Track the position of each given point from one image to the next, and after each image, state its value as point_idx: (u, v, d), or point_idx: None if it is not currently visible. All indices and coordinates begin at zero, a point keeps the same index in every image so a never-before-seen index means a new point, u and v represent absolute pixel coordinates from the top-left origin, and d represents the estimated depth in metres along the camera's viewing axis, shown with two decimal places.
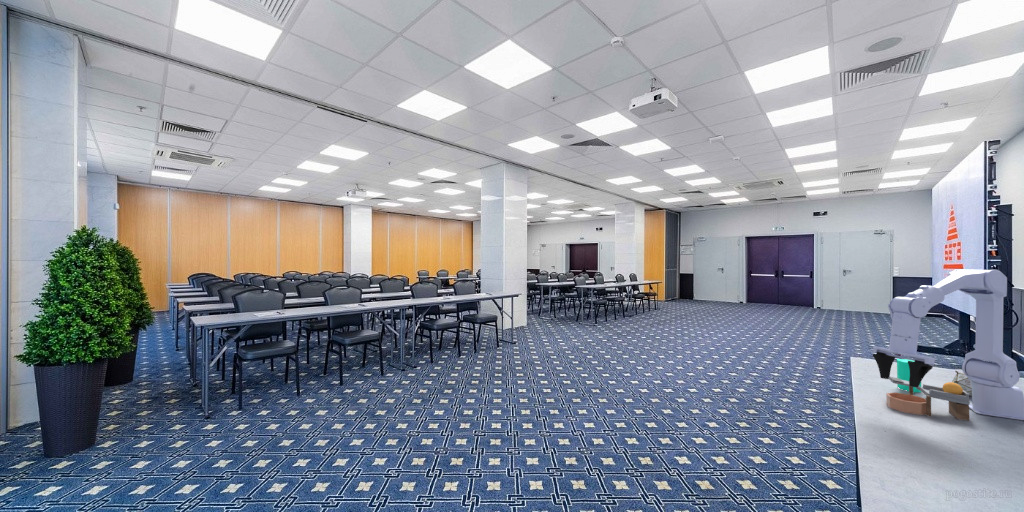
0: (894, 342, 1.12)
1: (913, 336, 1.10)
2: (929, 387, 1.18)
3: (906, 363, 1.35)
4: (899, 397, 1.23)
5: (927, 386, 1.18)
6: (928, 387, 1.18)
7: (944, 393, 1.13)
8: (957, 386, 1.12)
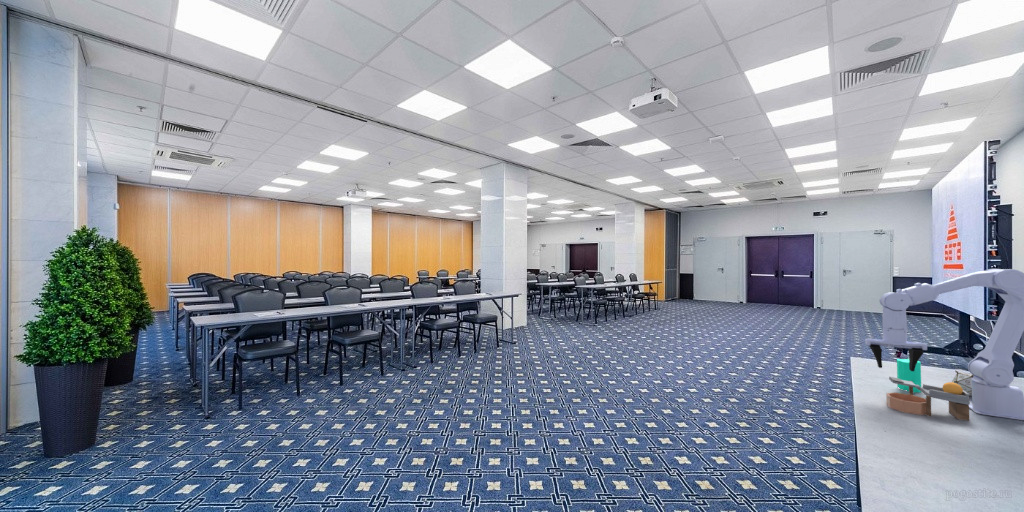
0: (896, 335, 1.25)
1: (894, 327, 1.25)
2: (929, 387, 1.18)
3: (906, 363, 1.35)
4: (899, 397, 1.23)
5: (927, 386, 1.18)
6: (928, 387, 1.18)
7: (944, 393, 1.13)
8: (957, 386, 1.12)
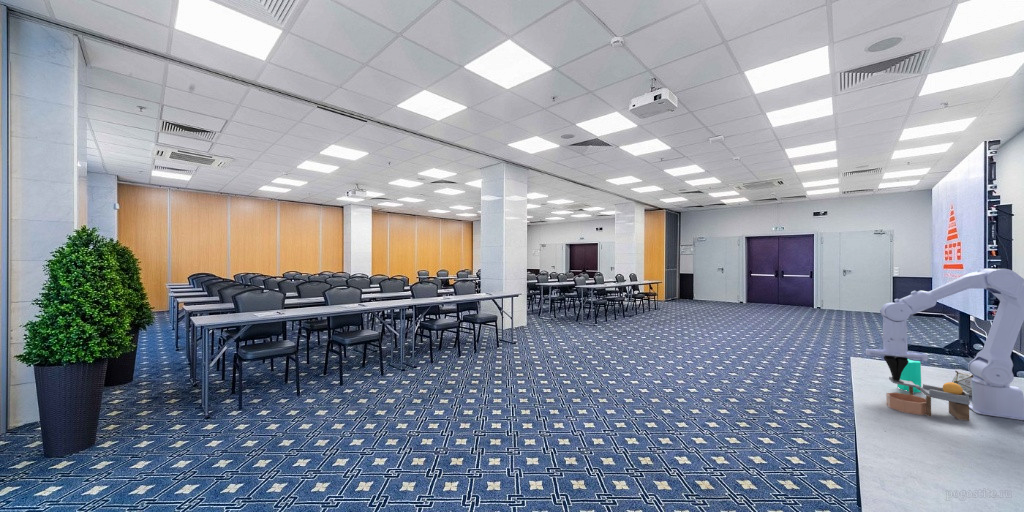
0: (897, 346, 1.25)
1: (895, 338, 1.25)
2: (929, 387, 1.18)
3: None
4: (899, 397, 1.23)
5: (927, 386, 1.18)
6: (928, 387, 1.18)
7: (944, 393, 1.13)
8: (957, 386, 1.12)
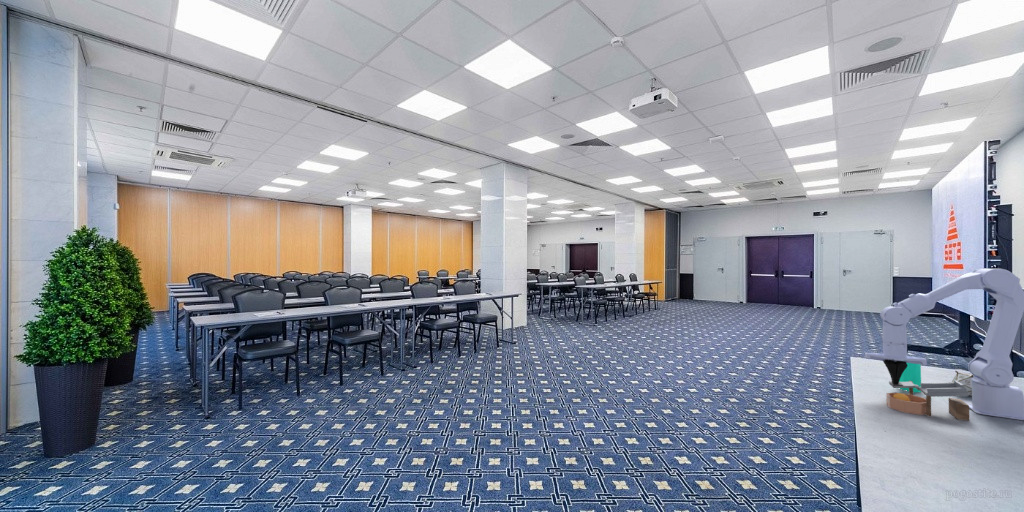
0: (896, 350, 1.25)
1: (894, 342, 1.25)
2: (927, 385, 1.19)
3: (906, 363, 1.35)
4: None
5: (924, 384, 1.19)
6: (926, 385, 1.19)
7: (941, 389, 1.13)
8: (907, 399, 1.18)
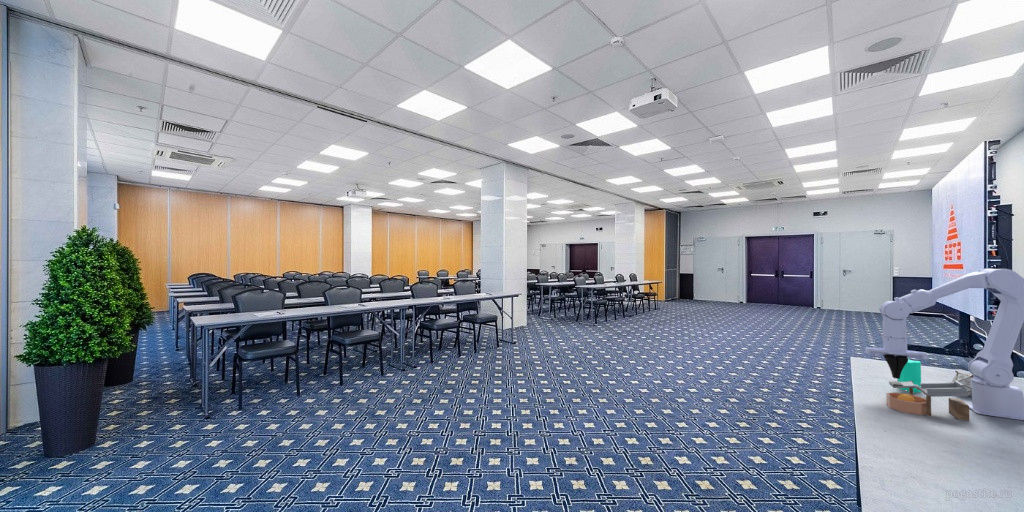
0: (896, 344, 1.25)
1: (894, 336, 1.25)
2: (927, 385, 1.19)
3: (906, 363, 1.35)
4: None
5: (924, 384, 1.19)
6: (926, 385, 1.19)
7: (941, 389, 1.13)
8: None
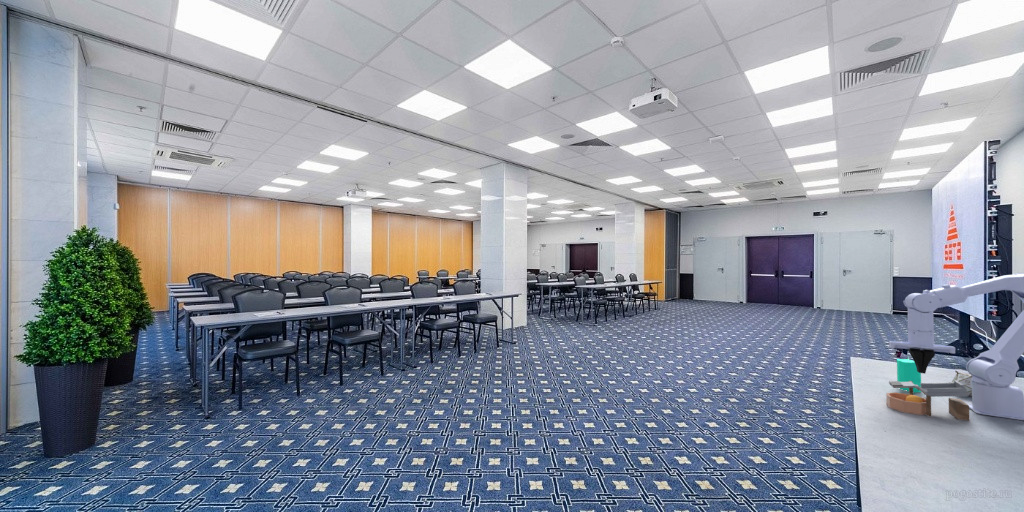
0: (923, 338, 1.20)
1: (922, 329, 1.20)
2: (927, 385, 1.19)
3: (906, 363, 1.35)
4: (899, 397, 1.23)
5: (924, 384, 1.19)
6: (926, 385, 1.19)
7: (941, 389, 1.13)
8: None
